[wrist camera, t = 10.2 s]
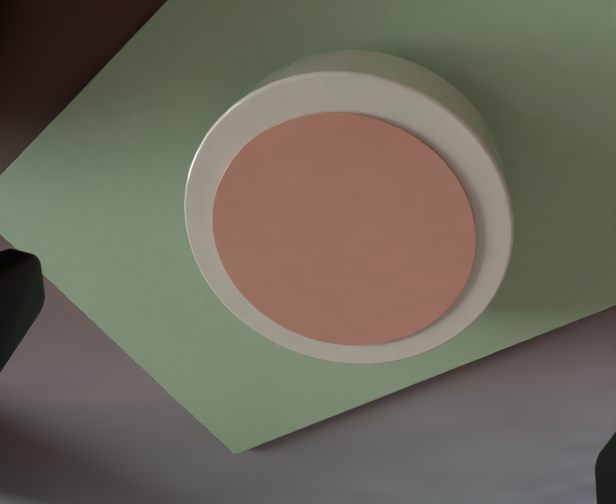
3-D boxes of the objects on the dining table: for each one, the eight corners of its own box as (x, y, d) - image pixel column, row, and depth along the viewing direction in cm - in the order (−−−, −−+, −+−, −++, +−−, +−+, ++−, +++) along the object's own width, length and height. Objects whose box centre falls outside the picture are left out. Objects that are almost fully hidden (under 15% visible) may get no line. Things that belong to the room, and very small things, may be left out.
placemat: (238, 446, 20) (235, 455, 20) (-21, 200, 16) (-30, 206, 16) (950, 160, 11) (967, 168, 10) (707, -557, 7) (720, -581, 7)
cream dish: (391, 342, 15) (382, 411, 13) (182, 216, 15) (137, 268, 13) (571, 156, 12) (600, 211, 10) (305, -25, 11) (271, -10, 9)
